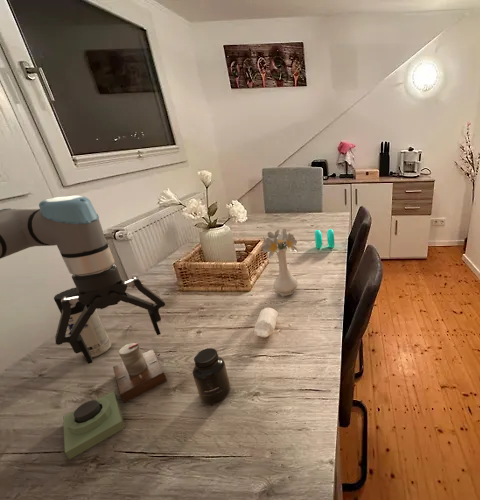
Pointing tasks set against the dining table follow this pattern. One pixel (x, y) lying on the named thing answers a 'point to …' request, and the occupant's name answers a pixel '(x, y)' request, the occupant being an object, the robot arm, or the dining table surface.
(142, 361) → the dial knob
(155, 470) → the dining table surface
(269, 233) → the flower vase
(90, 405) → the button
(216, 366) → the supplement bottle
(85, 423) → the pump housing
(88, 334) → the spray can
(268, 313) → the roll
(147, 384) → the dial panel
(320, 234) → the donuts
